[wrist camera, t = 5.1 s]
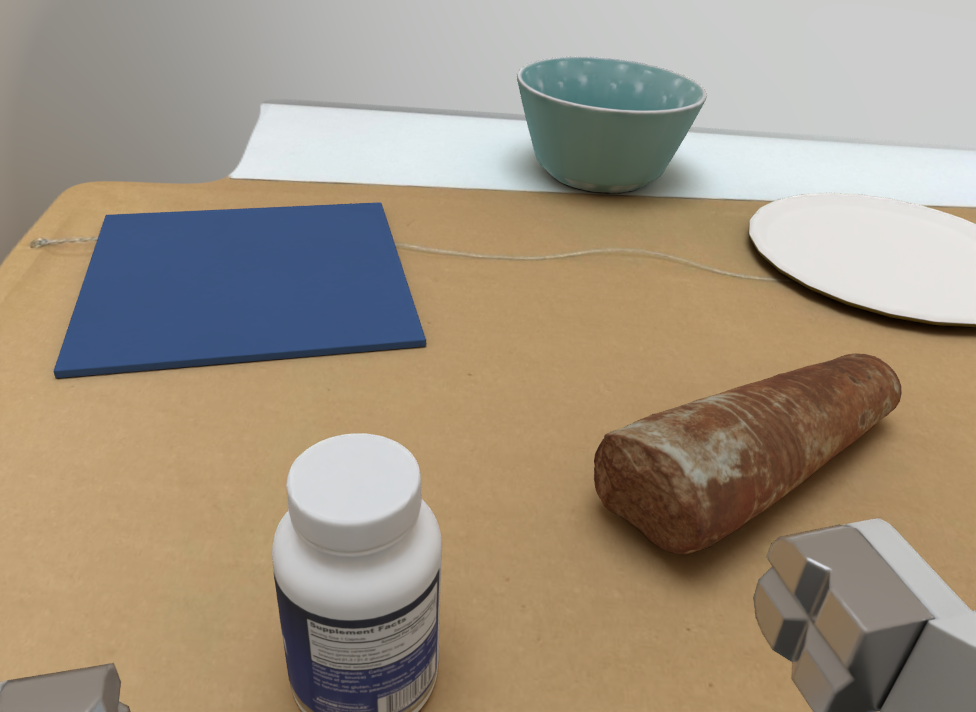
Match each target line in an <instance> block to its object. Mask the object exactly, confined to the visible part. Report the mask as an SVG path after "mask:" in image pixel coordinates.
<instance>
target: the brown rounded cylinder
mask: <svg viewBox="0 0 976 712" xmlns="http://www.w3.org/2000/svg"><path fill="white" fill-rule="evenodd" d="M900 398H901V384H900V381H899V379H898V377H897V375H896V373H895V372H894V371H893V369H892V368H891V367H890V366H889V365H888V364H886V363H885V362H883V361H882V360H881V359H879V358H877V357H874V356H871V355H866V354H848V355H844V356H841V357H839V358H836V359H834V360H831V361H827V362H823V363H819V364H815V365H811V366H806V367H803V368H800V369H797V370H794V371H791V372H787V373H783V374H778V375H776V376H774V377H771V378H768V379H764V380H761V381H758V382H755V383H751V384H747V385H744V386H740V387H737V388H734V389H731V390H728V391H726V392H723V393H720V394H716V395H713V396H709V397H706V398H702V399H699V400H696V401H693V402H691V403H688V404H685V405H682V406H679V407H676V408H673V409H670V410H666V411H663V412H660V413H656V414H652V415H650V416H648V417H645V418H643V419H640V420H638V421H636V422H634V423H632V424H630V425H627V426H625V427H624V428H622V429H619V430H615V431H612V432H610V433H608V434H606V435H605V437H604V439H603V440H602V442H601V444H600V445H599V447H598V449H597V451H596V453H595V459H594V464H595V467H594V473H595V474H594V481H595V488H596V492H597V494H598V496H599V498H600V499H601V501H602V503H603V504H604V506H605V507H606V508H607V509H608V510H609V511H612V512H614V513H616V514H618V515H620V516H622V517H623V518H625V519H626V520H627V521H629V522H630V523H631V524H632V525H634V526H635V527H636V528H638V529H639V530H640V531H641V532H642V533H644V534H645V535H646V537H647V539H649V540H650V541H652V542H653V543H655V544H656V545H657V546H658V547H660V548H662V549H664V550H667V551H669V552H672V553H677V554H688V553H693V552H696V551H699V550H701V549H704V548H707V547H710V546H712V545H713V544H715V543H717V542H718V541H720V540H722V539H723V538H725V537H726V536H727V535H729V534H730V533H732V532H734V531H736V530H737V529H739V528H741V526H742V525H743V524H744V523H746V522H747V521H749V520H750V519H752V518H753V517H755V516H757V515H758V514H760V513H762V512H763V511H765V510H766V509H767V508H769V507H770V506H771V505H773V504H774V503H775V502H777V501H778V500H780V499H781V498H782V497H784V496H785V495H786V494H787V493H789V492H790V491H791V490H793V489H794V488H796V487H797V486H798V485H800V484H801V483H802V482H803V481H804V480H806V479H807V478H808V477H809V476H811V475H812V474H813V473H814V472H815V471H817V470H818V469H819V468H821V467H822V466H823V465H825V464H826V463H827V462H828V461H829V460H831V459H832V458H833V457H834V456H836V455H837V454H838V453H840V452H841V451H842V450H844V449H845V448H846V447H848V446H849V445H850V444H852V443H853V442H855V441H856V440H857V439H858V438H860V437H861V436H862V435H863V434H865V433H866V432H867V431H868V430H870V429H871V428H872V427H873V426H874V425H875V424H876V423H877V422H878V421H880V420H881V419H883V418H884V417H885V416H887V415H888V414H889V413H890V412H891V411H893V410H894V409H895V408H896V406H897V405H898V403H899V402H900Z"/></svg>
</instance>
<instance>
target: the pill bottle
mask: <svg viewBox="0 0 976 712" xmlns="http://www.w3.org/2000/svg"><path fill="white" fill-rule="evenodd" d="M287 495H288V509H289V510H288V511H287V513H286V514H285V515H284V517H283V518H282V520H281V521H280V523H279V525H278V527H277V530H276V533H275V536H274V540H273V548H272V558H273V569H274V579H275V585H276V592H277V600H278V607H279V615H280V622H281V629H282V635H283V642H284V649H285V656H286V663H287V670H288V676H289V681H290V686H291V690H292V693H293V696H294V698H295V701H296V703H297V705H298V706H299V708H300V709H301V711H302V712H418V711H419V710H420V709H421V708H422V707H423V705H424V704H425V703H426V701H427V700H428V698H429V696H430V694H431V692H432V690H433V688H434V685H435V682H436V678H437V672H438V659H439V619H440V581H441V558H442V542H441V533H440V529H439V526H438V522H437V520H436V518H435V516H434V514H433V512H432V510H431V509H430V508H429V506H428V505H427V504H426V503H425V502H424V501H423V500H422V495H421V476H420V469H419V466H418V463H417V461H416V459H415V458H414V456H413V455H412V454H411V453H410V451H408V450H407V449H406V448H405V447H404V446H402V445H401V444H399V443H397V442H395V441H394V440H391V439H388V438H385V437H383V436H378V435H373V434H346V435H339V436H335V437H331V438H328V439H325V440H323V441H320V442H318V443H316V444H314V445H313V446H311V447H310V448H308V449H307V450H305V451H304V452H303V453H302V454H301V455H300V456H299V457H298V458H297V459H296V460H295V462H294V463H293V465H292V466H291V468H290V471H289V474H288V477H287Z"/></svg>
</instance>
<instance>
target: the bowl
mask: <svg viewBox="0 0 976 712" xmlns="http://www.w3.org/2000/svg"><path fill="white" fill-rule="evenodd" d="M517 80H518V85H519V89H520V94H521V99H522V103H523V107H524V112H525V117H526V121H527V125H528V128H529V132H530V136H531V140H532V143H533V147H534V151H535V155H536V157H537V160H538V162H539V163H540V164H541V165H542V166H543V167H544V168H545V169H546V170H547V171H548V172H549V173H550V174H551V175H552V176H553V177H554V178H555V179H557V180H558V181H560V182H561V183H564V184H566V185H568V186H571V187H574V188H577V189H582V190H587V191H592V192H602V193H621V192H628V191H633V190H636V189H639V188H641V187H643V186H644V185H646V184H647V183H649V182H651V181H653V180H655V179H656V178H658V177H659V176H660V175H661V174H662V173H663V172H664V171H665V169H666V167H667V166H668V164H669V162H670V161H671V159H672V157H673V156H674V154H675V153H676V151H677V149H678V148H679V146H680V144H681V143H682V141H683V139H684V138H685V136H686V134H687V132H688V131H689V129H690V127H691V125H692V124H693V122H694V120H695V118H696V116H697V115H698V113H699V111H700V109H701V108H702V105H703V104H704V102H705V100H706V97H707V93H706V91H705V89H704V88H703V87H702V86H701V85H700V84H698V83H697V82H695V81H693V80H692V79H690V78H688V77H686V76H683V75H681V74H678V73H675V72H673V71H670V70H667V69H663V68H660V67H656V66H651V65H647V64H643V63H638V62H632V61H625V60H619V59H610V58H598V57H559V58H550V59H544V60H540V61H536V62H533V63H530V64H527V65H526V66H524V67H522V68H521V69H520V70H519V72H518V74H517Z"/></svg>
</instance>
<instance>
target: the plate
mask: <svg viewBox="0 0 976 712" xmlns="http://www.w3.org/2000/svg"><path fill="white" fill-rule="evenodd" d="M749 237H750V239H751V241H752V242H753V244H754V246H755V248H756V249H757V251H758V253H759V254H760V255H761V256H762V257H763V258H764V259H766V260H767V261H768V262H769V263H770V264H771V265H772V266H774V267H775V268H776V269H777V270H778V271H779V272H781V273H782V274H784V275H786V276H788V277H789V278H791V279H793V280H794V281H796V282H798V283H799V284H801V285H803V286H805V287H806V288H808V289H810V290H812V291H815V292H817V293H820V294H822V295H824V296H827V297H829V298H832V299H834V300H836V301H839V302H841V303H844V304H846V305H849V306H853V307H856V308H860V309H863V310H867V311H870V312H874V313H877V314H880V315H884V316H887V317H892V318H898V319H903V320H909V321H915V322H920V323H926V324H932V325H947V326H965V327H976V224H974V223H972V222H970V221H967V220H965V219H963V218H960V217H957V216H954V215H951V214H947V213H944V212H941V211H938V210H935V209H932V208H929V207H925V206H920V205H916V204H912V203H908V202H903V201H899V200H895V199H888V198H881V197H875V196H868V195H860V194H842V193H818V194H801V195H796V196H791V197H787V198H782V199H778V200H776V201H773V202H771V203H769V204H767V205H765V206H763V207H761V208H760V209H759V210H758V211H757V212H756V213H755V214H754V216H753V217H752V218H751V219H750V222H749Z"/></svg>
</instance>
